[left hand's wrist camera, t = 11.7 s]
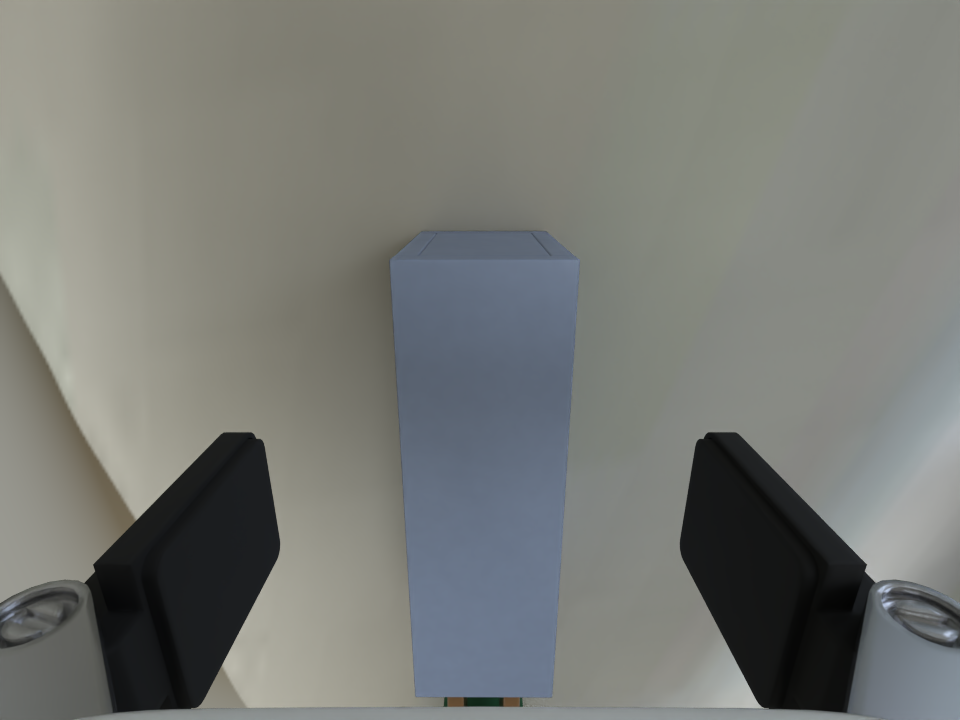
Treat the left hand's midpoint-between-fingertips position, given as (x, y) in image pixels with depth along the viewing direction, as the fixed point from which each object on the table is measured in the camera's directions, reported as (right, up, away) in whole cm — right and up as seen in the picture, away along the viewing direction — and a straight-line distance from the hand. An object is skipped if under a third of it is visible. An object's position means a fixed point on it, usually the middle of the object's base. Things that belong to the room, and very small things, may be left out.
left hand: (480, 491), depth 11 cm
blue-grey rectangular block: (0, 0, +17) cm, 17 cm away
